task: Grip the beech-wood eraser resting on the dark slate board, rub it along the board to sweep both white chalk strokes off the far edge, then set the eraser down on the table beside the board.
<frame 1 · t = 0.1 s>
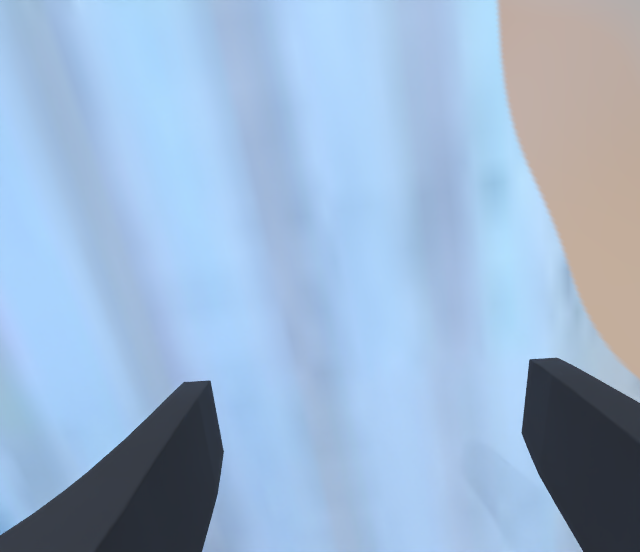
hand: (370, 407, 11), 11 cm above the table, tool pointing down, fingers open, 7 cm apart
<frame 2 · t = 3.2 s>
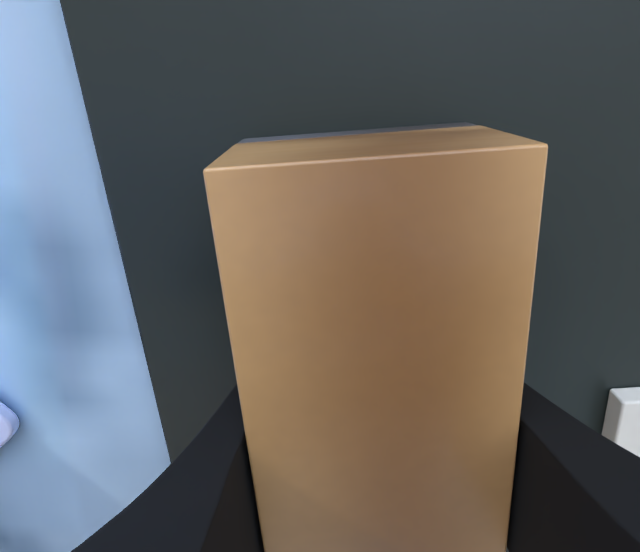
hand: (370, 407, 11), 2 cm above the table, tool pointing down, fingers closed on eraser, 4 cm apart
chalk stroke 1: (617, 465, 13), point 1 cm above the table, touching slate board
slate board: (550, 355, 12), on the table
eraser: (365, 386, 12), point 1 cm above the table, touching gripper, slate board
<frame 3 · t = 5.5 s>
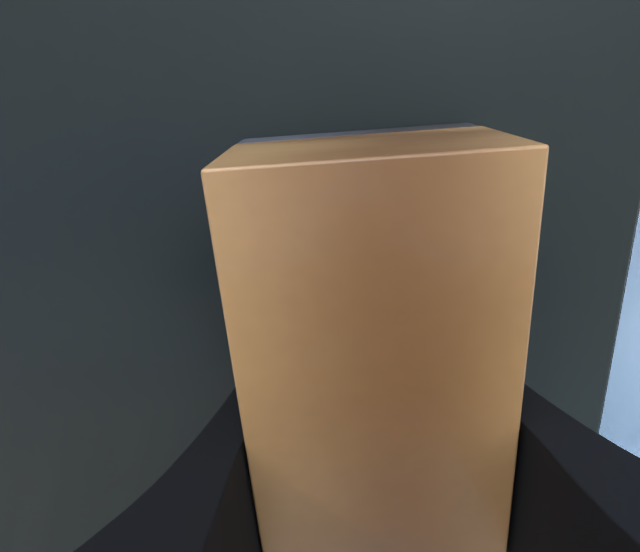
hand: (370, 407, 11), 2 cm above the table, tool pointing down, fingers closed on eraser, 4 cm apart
slate board: (206, 378, 13), on the table
eraser: (365, 387, 12), point 1 cm above the table, touching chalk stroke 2, gripper
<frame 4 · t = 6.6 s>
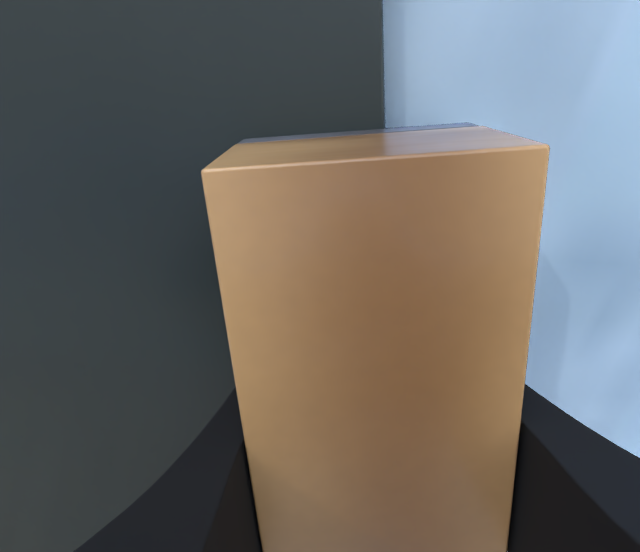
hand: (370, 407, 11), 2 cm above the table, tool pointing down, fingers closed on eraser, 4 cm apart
slate board: (4, 391, 13), on the table
eraser: (365, 387, 12), point 1 cm above the table, touching gripper
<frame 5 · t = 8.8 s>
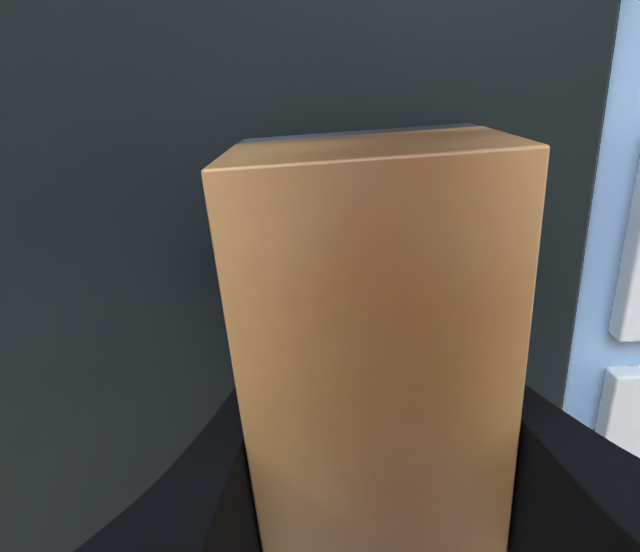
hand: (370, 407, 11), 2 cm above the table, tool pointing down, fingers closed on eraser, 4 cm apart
chalk stroke 1: (624, 454, 13), on the table, tilted 179°
slate board: (167, 380, 13), on the table
eraser: (365, 388, 12), point 1 cm above the table, touching gripper
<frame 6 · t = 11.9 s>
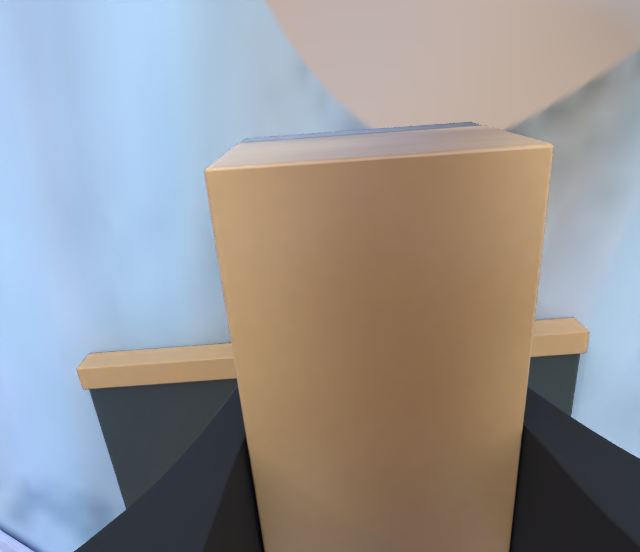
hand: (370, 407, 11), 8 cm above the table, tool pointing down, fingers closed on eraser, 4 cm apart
slate board: (346, 549, 24), on the table
eraser: (367, 387, 12), point 8 cm above the table, touching gripper
when the fingers open (1 cm above the table, at t = 14.6 s): eraser stays where it is, on the table.
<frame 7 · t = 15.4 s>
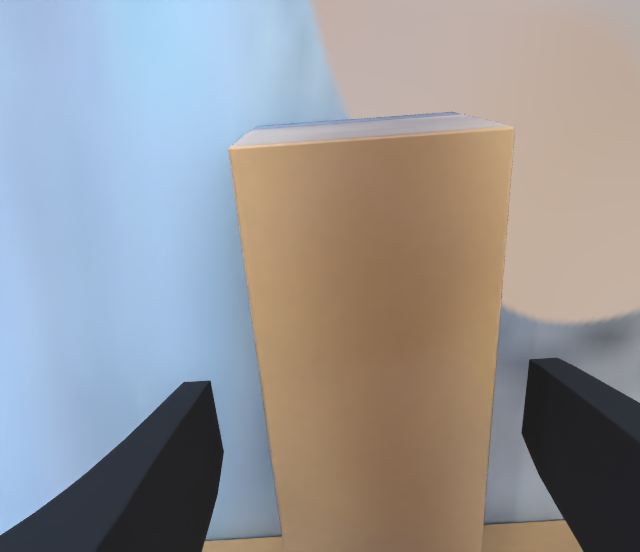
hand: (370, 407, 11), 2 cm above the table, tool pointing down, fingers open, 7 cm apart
eraser: (363, 351, 13), on the table
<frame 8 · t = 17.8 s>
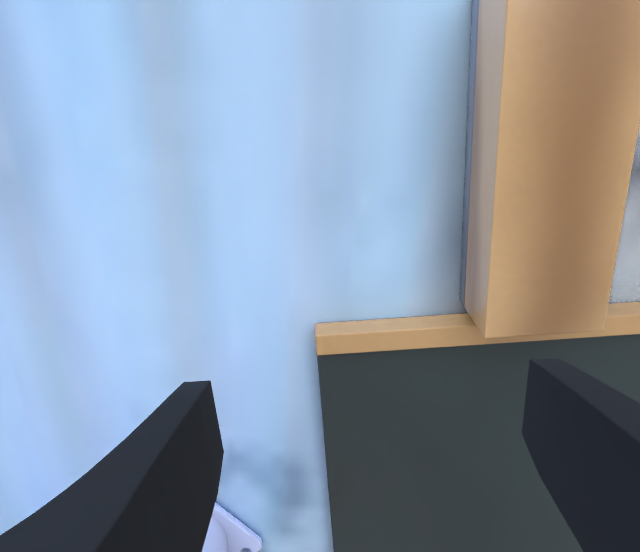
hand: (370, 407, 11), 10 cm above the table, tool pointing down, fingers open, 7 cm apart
slate board: (514, 512, 26), on the table
eraser: (521, 159, 19), on the table
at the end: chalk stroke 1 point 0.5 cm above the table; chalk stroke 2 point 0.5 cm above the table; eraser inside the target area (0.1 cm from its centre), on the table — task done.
